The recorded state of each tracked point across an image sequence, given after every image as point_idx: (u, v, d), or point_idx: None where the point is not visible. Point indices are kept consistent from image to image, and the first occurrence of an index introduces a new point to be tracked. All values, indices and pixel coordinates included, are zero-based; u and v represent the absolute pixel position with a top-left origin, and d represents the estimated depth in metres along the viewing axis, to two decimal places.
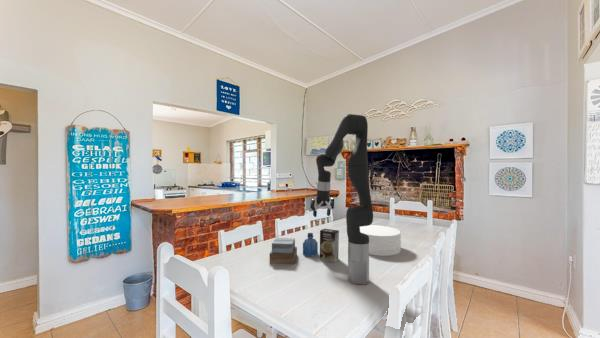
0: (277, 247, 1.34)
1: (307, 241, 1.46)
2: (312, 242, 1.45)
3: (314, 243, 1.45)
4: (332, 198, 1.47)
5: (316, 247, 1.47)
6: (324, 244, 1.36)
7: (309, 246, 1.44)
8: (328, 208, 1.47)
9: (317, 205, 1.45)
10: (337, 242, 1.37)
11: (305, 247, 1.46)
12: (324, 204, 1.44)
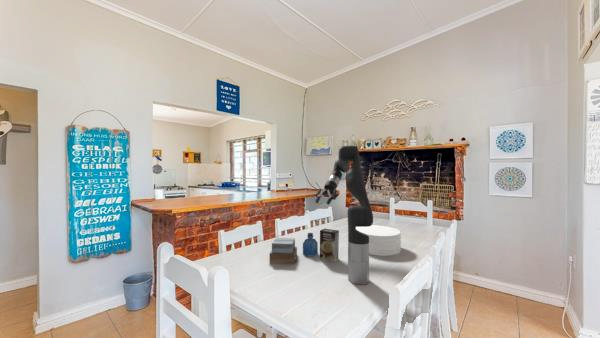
0: (277, 247, 1.34)
1: (307, 241, 1.46)
2: (312, 242, 1.45)
3: (314, 243, 1.45)
4: None
5: (316, 247, 1.47)
6: (324, 244, 1.36)
7: (309, 246, 1.44)
8: None
9: (323, 196, 1.62)
10: (337, 242, 1.37)
11: (305, 247, 1.46)
12: (326, 193, 1.59)
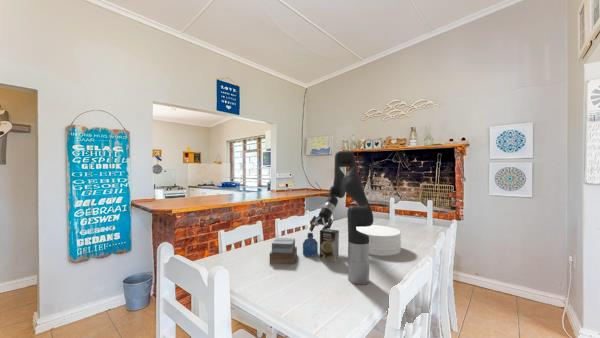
0: (277, 247, 1.34)
1: (307, 241, 1.46)
2: (312, 242, 1.45)
3: (314, 243, 1.45)
4: (331, 219, 1.53)
5: (316, 247, 1.47)
6: (324, 244, 1.36)
7: (309, 246, 1.44)
8: None
9: (318, 224, 1.57)
10: (337, 242, 1.37)
11: (305, 247, 1.46)
12: (321, 221, 1.54)
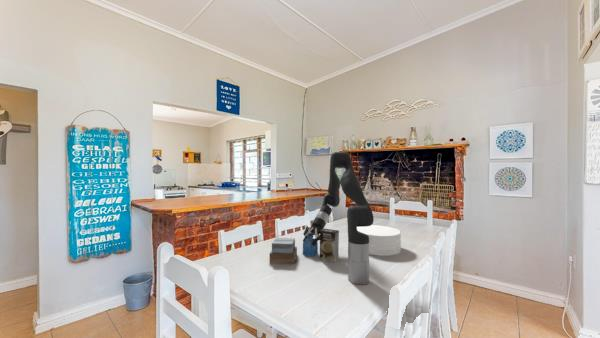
0: (277, 247, 1.34)
1: (307, 241, 1.46)
2: (312, 242, 1.45)
3: None
4: None
5: (316, 247, 1.47)
6: (324, 244, 1.36)
7: (309, 246, 1.44)
8: None
9: None
10: (337, 242, 1.37)
11: (305, 247, 1.46)
12: (314, 231, 1.49)
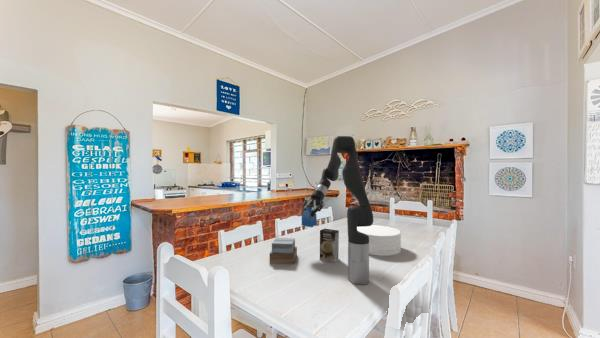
0: (277, 247, 1.34)
1: (306, 212, 1.45)
2: None
3: None
4: (322, 201, 1.47)
5: (315, 218, 1.46)
6: (324, 244, 1.36)
7: (308, 217, 1.43)
8: None
9: None
10: (337, 242, 1.37)
11: (303, 218, 1.46)
12: (312, 203, 1.49)
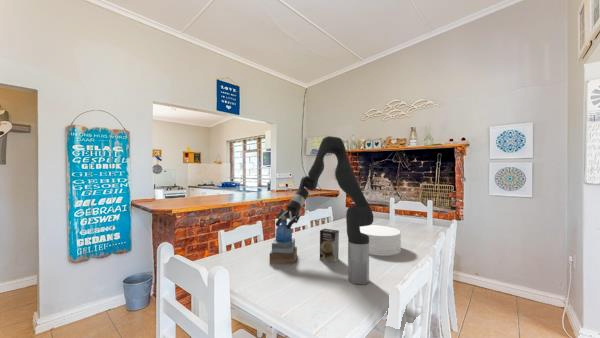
0: (277, 247, 1.34)
1: (280, 227, 1.37)
2: (285, 228, 1.37)
3: (287, 230, 1.37)
4: (298, 212, 1.39)
5: (290, 233, 1.39)
6: (324, 244, 1.36)
7: (282, 232, 1.36)
8: None
9: (285, 218, 1.44)
10: (337, 242, 1.37)
11: (278, 234, 1.38)
12: (288, 215, 1.41)
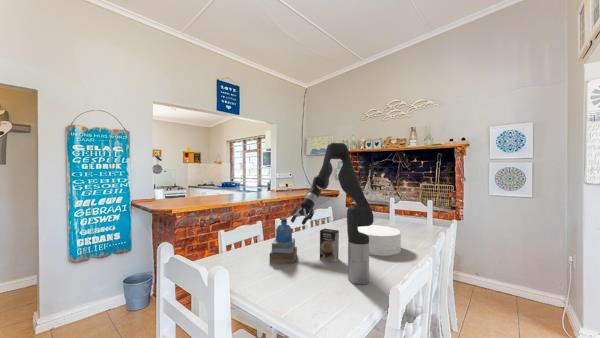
0: (277, 247, 1.34)
1: (280, 227, 1.37)
2: (285, 228, 1.37)
3: (287, 230, 1.37)
4: (312, 209, 1.49)
5: (290, 233, 1.39)
6: (324, 244, 1.36)
7: (282, 232, 1.36)
8: None
9: (299, 215, 1.53)
10: (337, 242, 1.37)
11: (278, 234, 1.38)
12: (302, 212, 1.50)
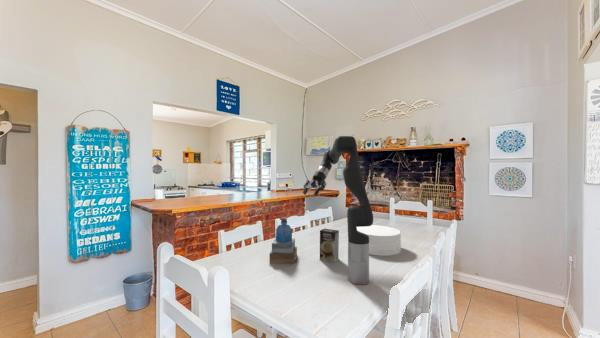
0: (277, 247, 1.34)
1: (280, 227, 1.37)
2: (285, 228, 1.37)
3: (287, 230, 1.37)
4: (324, 181, 1.52)
5: (290, 233, 1.39)
6: (324, 244, 1.36)
7: (282, 232, 1.36)
8: None
9: (311, 187, 1.56)
10: (337, 242, 1.37)
11: (278, 234, 1.38)
12: (314, 184, 1.53)
